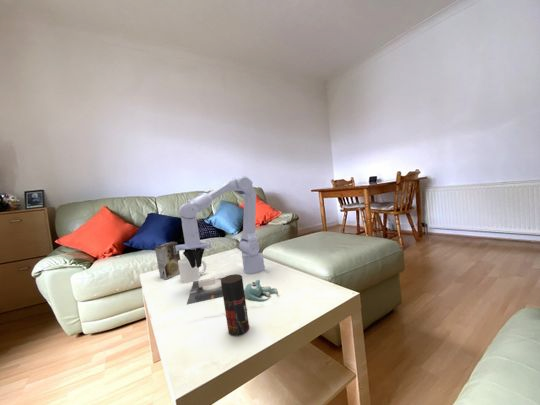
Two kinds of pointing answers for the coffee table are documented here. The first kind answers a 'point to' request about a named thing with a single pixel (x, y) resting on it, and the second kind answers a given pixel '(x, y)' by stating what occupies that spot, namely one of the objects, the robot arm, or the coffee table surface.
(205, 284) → the dial
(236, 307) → the deodorant
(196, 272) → the mug
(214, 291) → the panel
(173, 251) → the coffee box
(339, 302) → the coffee table surface
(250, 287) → the stuffed animal
